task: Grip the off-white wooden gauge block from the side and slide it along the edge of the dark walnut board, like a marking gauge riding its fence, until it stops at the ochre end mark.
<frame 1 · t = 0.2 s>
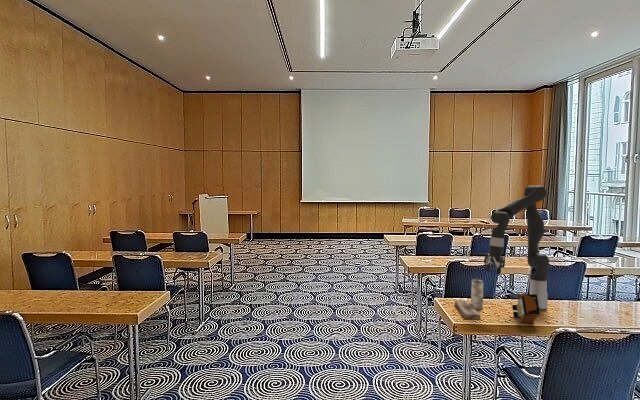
hand: (492, 273, 250), 23 cm above the table, tool pointing down, fingers open, 8 cm apart
gauge block: (476, 307, 261), on the table
walnut board: (466, 311, 252), on the table
toy: (525, 321, 235), on the table
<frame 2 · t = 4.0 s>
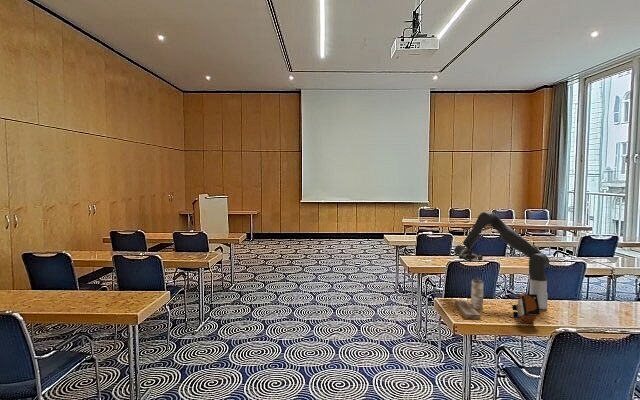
hand: (473, 258, 273), 28 cm above the table, tool horizontal, fingers open, 8 cm apart
nothing on the table moved.
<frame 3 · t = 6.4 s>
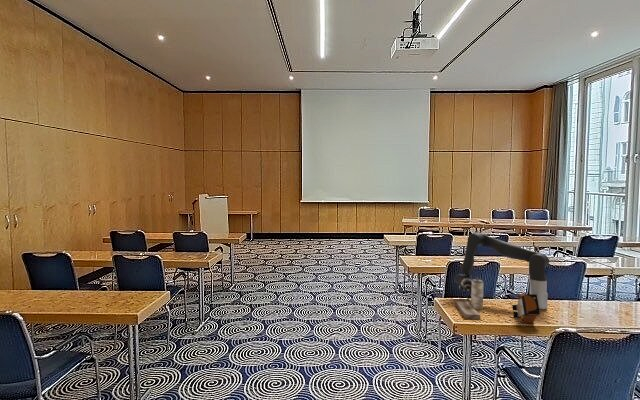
hand: (473, 290, 270), 8 cm above the table, tool horizontal, fingers open, 8 cm apart
nothing on the table moved.
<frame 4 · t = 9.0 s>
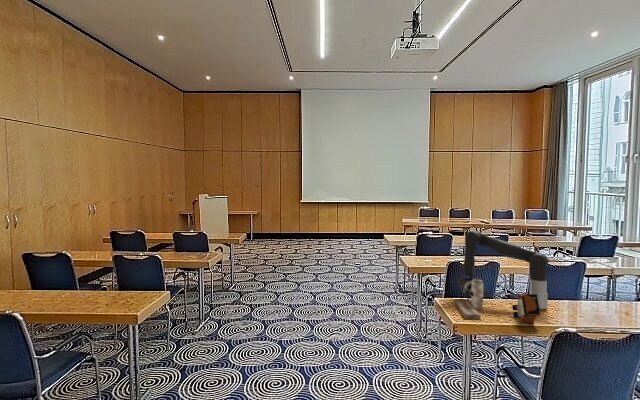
hand: (478, 294, 258), 9 cm above the table, tool horizontal, fingers closed on gauge block, 5 cm apart
gauge block: (476, 307, 261), on the table, touching gripper
everything else where it was.
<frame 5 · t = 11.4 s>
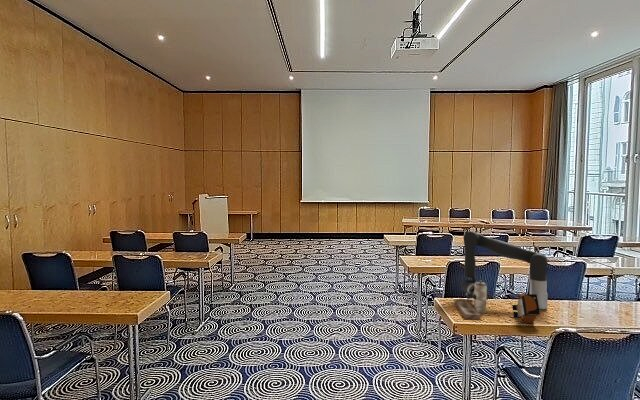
hand: (481, 298, 250), 9 cm above the table, tool horizontal, fingers closed on gauge block, 5 cm apart
gauge block: (479, 311, 253), on the table, touching gripper
everything else where it was.
when the fingers open (9 cm above the table, at t = 14.0 s): gauge block stays where it is, on the table.
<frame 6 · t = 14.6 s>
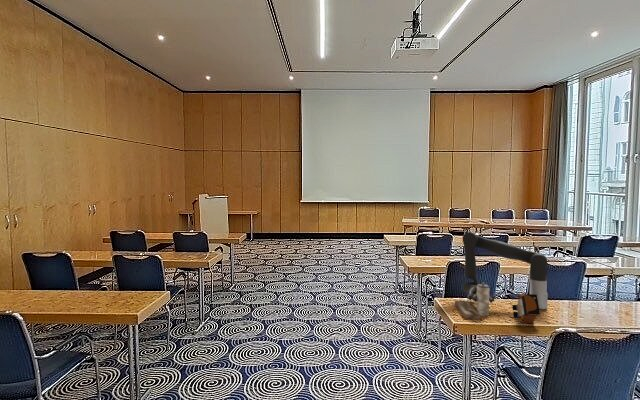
hand: (483, 300, 245), 8 cm above the table, tool horizontal, fingers open, 8 cm apart
gauge block: (482, 314, 247), on the table
everything else where it was.
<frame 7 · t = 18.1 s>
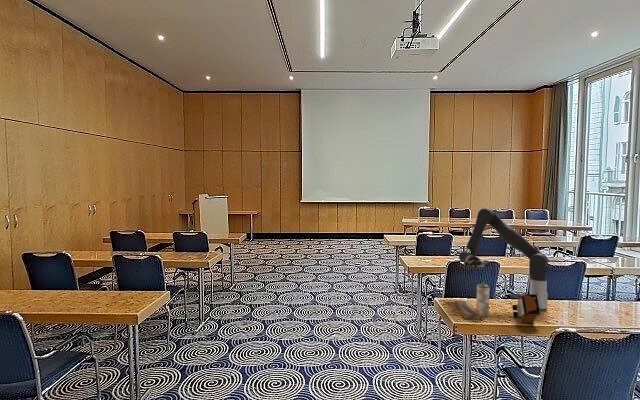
hand: (479, 265, 257), 26 cm above the table, tool horizontal, fingers open, 8 cm apart
nothing on the table moved.
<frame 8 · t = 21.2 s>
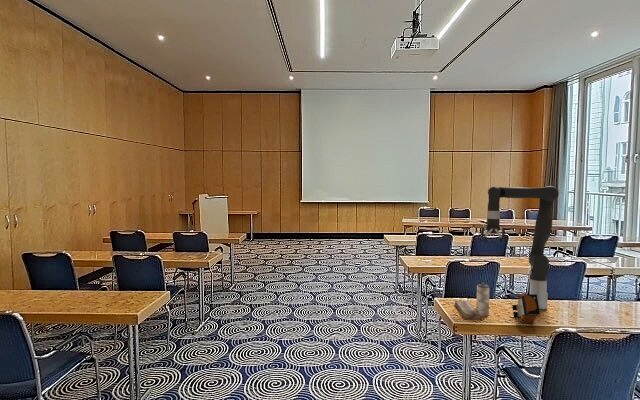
hand: (492, 243, 273), 38 cm above the table, tool pointing down, fingers open, 8 cm apart
nothing on the table moved.
at the end: gauge block inside the target area (0.1 cm from its centre), on the table; gauge block tilted 0°; the gripper is holding nothing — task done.
